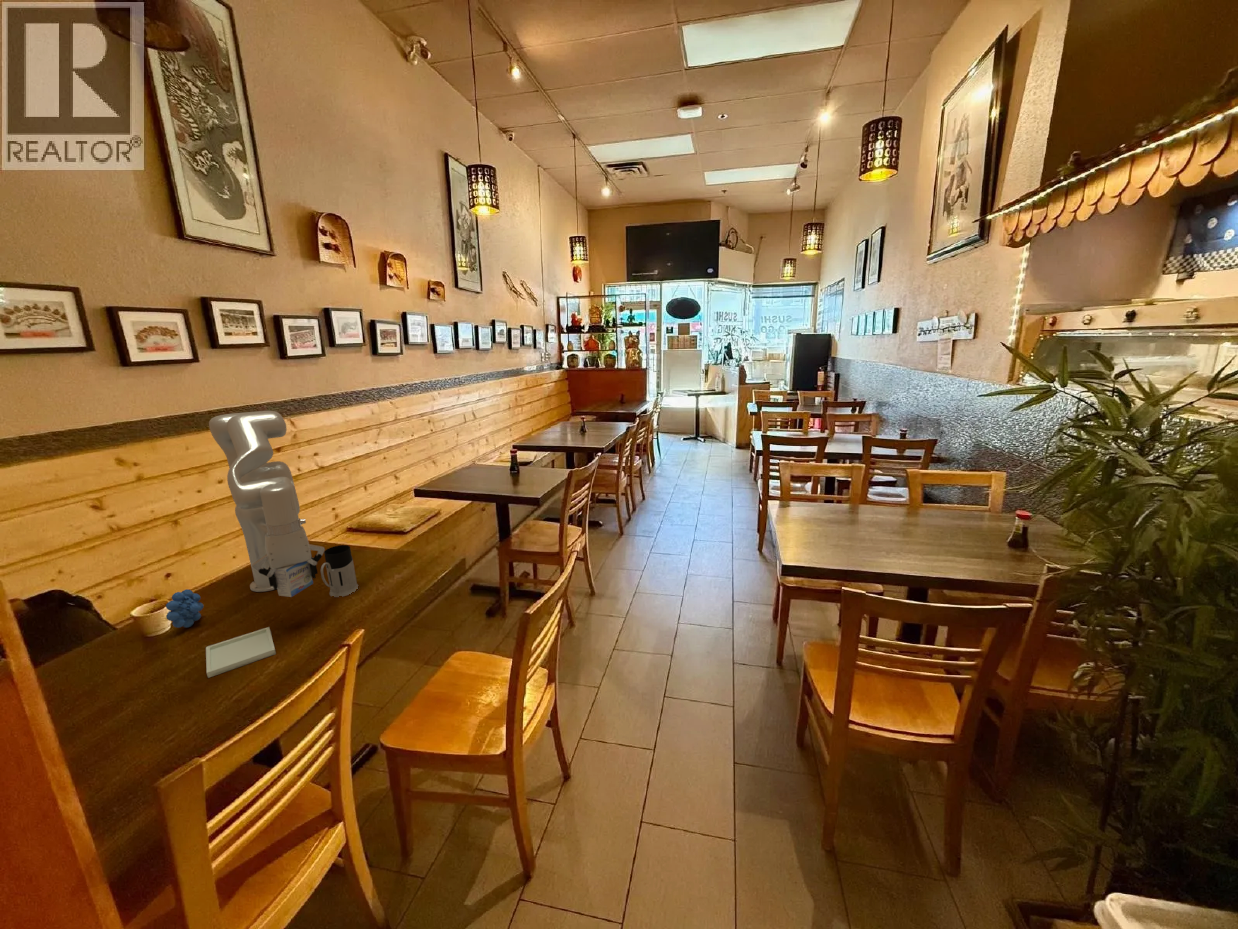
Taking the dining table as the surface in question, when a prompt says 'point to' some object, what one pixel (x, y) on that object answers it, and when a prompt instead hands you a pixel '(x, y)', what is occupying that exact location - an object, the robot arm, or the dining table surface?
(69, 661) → the dining table surface
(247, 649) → the tray
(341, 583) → the glass holder
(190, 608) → the grapes
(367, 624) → the dining table surface
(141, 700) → the dining table surface
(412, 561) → the dining table surface
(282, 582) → the medicine box
